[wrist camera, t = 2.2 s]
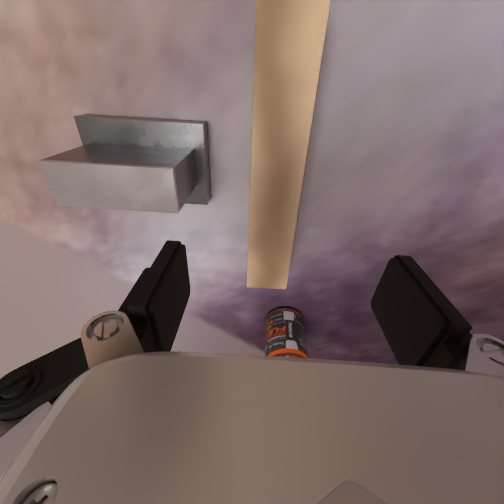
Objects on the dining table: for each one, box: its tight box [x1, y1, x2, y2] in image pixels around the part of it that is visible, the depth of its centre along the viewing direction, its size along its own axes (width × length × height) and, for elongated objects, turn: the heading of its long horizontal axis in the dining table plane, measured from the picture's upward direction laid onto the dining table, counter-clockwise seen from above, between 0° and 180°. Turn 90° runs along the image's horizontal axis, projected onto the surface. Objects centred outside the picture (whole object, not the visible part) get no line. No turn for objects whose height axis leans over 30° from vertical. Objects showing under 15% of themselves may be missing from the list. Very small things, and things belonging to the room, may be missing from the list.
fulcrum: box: [39, 114, 211, 213], centre depth 23 cm, size 12×8×9 cm, turn 87°
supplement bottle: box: [265, 308, 309, 359], centre depth 36 cm, size 6×6×11 cm
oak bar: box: [247, 0, 330, 289], centre depth 24 cm, size 4×24×6 cm, turn 178°
